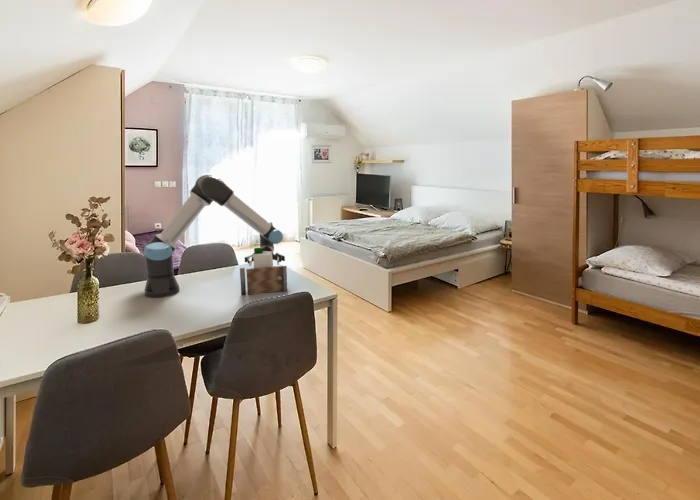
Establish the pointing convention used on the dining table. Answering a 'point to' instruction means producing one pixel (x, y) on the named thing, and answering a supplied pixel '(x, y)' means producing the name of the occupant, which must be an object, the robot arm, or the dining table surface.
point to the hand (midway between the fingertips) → (264, 262)
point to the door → (264, 279)
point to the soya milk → (262, 258)
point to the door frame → (243, 285)
